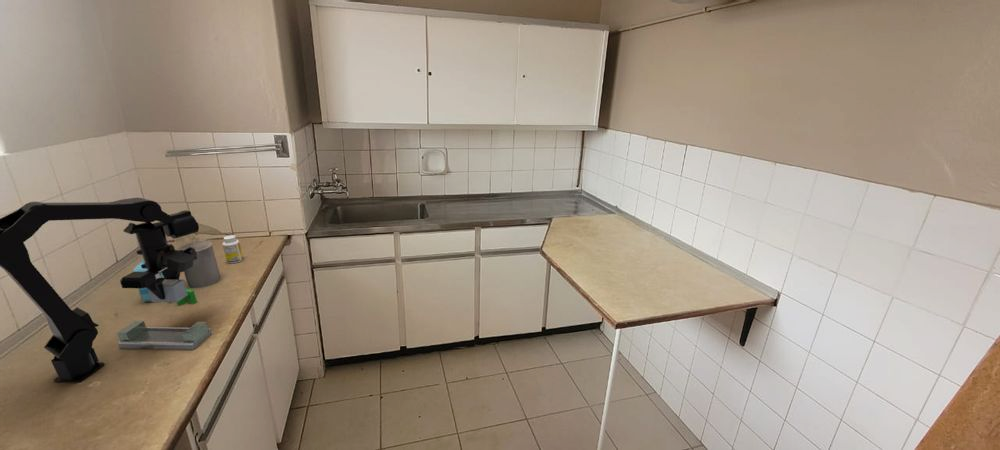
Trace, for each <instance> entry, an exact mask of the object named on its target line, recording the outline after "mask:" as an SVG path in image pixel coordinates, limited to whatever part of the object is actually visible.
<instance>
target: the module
mask: <svg viewBox="0 0 1000 450" xmlns="http://www.w3.org/2000/svg"><path fill="white" fill-rule="evenodd" d="M162 285H163V289H164V293H165V299H164V300H161V299H159V298H158V297H157V296H156V295H155V294H153V293H152V292H151V291H150V290H149V289H148V291H149V294H150V297H151V300H152V301H151V302H152V303H169V302H172V303H176V302H178V301H180V300H181V299H183V298H184V297H186V296H187V295H188V294H187V290H186V288H187V287H186V283H185V280H184V279H180V278H179V279H165V280H164V281H163V282H162Z"/></svg>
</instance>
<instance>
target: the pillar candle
mask: <svg viewBox="0 0 1000 450" xmlns="http://www.w3.org/2000/svg"><path fill="white" fill-rule="evenodd" d="M189 247H192V248H195V251H196V253H197V259H196V260H194V261H193V267H190V268H188V269H187V270H186V271H184V272H183V273H184V277H185V280H186V284H187V286H188V287H189V288H193V289H198V288H204V287H208V286H211V285H214V284H215V283H216V282H218V281H220V280H221V273H220V270H219V265H218V263H217V258H216V256H215V255H216V254H215V252H214V247H213V243H212V242H210V241H207V240H198V241H192V242H188V243H185V244H183V245H181V246H179V247H178V248H177V250H185V249H187V248H189Z"/></svg>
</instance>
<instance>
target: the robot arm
mask: <svg viewBox="0 0 1000 450" xmlns="http://www.w3.org/2000/svg"><path fill="white" fill-rule="evenodd" d="M109 219H111V220H112V219H113V220H123V221H131V222H129V223H128V225H127V226H126V227H125V228H124V229H123V232H124V233H127V234H129V235H134V234H135V236H136V239H137V243H138V246H139V249H138V250H136V254H137V255H141V256H142V259H143V260H144V262H145V263H144V264H142V265H141V267H142V268H146V269H147V271H145V272H133V271H132V272H130V273H129V274H126V275H124V276H122V278H121V279H120V280H119V282H120V285H121V287H122V288H121V289H138V288H147V289H149V290H150V291H151V292H152V293H153V294H155V295H156V296H157V297H158V298H159V299H161V300H164V299H165V293H164V289H163V285H162V282H163V281H164V280H165V279H180V276H181V273H184V271H186V270H187V269H188V268H190V267H193V261H194V260H196V259H197V253H196V251H195V248H192V247H189V248H187V249H185V250H178V249H175V246H174V245H173V244H171V243H168V239H167V237H170V238H172V239H174V240H176V239H178V238H182V237H186V236H189V235H192V234H196V233H198V232H199V229H200V226H199V222H198V221H197V220H196V218H195V217H194V216H193V215H192V212H191V211H190V210H187V209H184V210H181V211H179V212H175V213H171V214H169V213H167V212H165V211H163V210H162V207H161V205H160V204H159V203H158V202H157V201H154V200H151V199H147V198H143V197H131V198H124V199H123V198H122V199H120V200H115V201H109V202H104V201H103V202H99V201H98V202H40V201H29V202H27V203H25V204H24V205H23V206H21V207H19V208H18V209H16V210H15V211H12V212H10V213H8V214H6V215H4V216H2V217H0V268H1V269H2V270H4V271H5V272H6V274H7V275H8V276H9V278H11V279H12V280H13V281H14V283H15V284H16V285H17V286H18V287H19V289H21V290H22V291H23V292H24V293H25V294H26V296H27V297H28V298H29V299H30V301H32V302H33V304H34V305H35V306H36V307H37V308H38V309H39V311H40V312H41V313H42V314H43V315H44V316H45V317H46V321H47V324H48V327H49V329H50V332H51V333H52V336H50V338H49V339H48V341H47V342H46V343H45V345H44V346H43V348H44V350H46V351H47V352H49V353H51V355H53V358H52V359H50V361H51V364H52V366H53V368H54V370H55V372H56V375H57V377H55V378H54V379H53V382H54V383H80V382H83V381H84V380H86V379H87V378H88V377H89V376H91V375H92V374H94V372H97V371H98V370H99V369H100V368H102V367H103V366H105V362H99V358H98V355H97V354H96V350H95V348H94V347H93V345H94V344H93V342H94V341H95V340H96V337H97V335H98V334H99V331H98V329H97V328H96V327H100V326H99V324H98V323H96V322H94V321H93V319H92V316H91V315H90V313H89V312H87V311H85V310H83V309H81V308H80V307H78V306H77V307H76V308H74V309H71V308H70V306H69V305H68V304H67V303H66V302H65V301H64V300H63V299H62V297H61V296H60V295H59V294H58V293H57V291H56V290H55V289H54V288H53V286H52V285H51V284H50V283H49V282H48V281H47V279H45V277H44V276H43V274H41V272H40V271H39V270H38V269H37V267H35V265H34V264H33V263H32V261H31V258H30V257H31V256H30V254H29V250H28V248H27V247H26V245H25V242H26V241H28V240H29V239H30V238H32V237H33V236H34V235H35V234H36V233H37V232H38V231H39V230H40V228H41V227H43V225H45V224H46V223H48V222H51V221H53V222H54V221H79V220H109ZM156 221H157V222H156ZM133 222H134V223H133ZM135 222H140V223H138V224H137V223H135ZM159 272H162V274H163V276H164V278H160V275H159V274H160V273H159Z"/></svg>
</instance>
